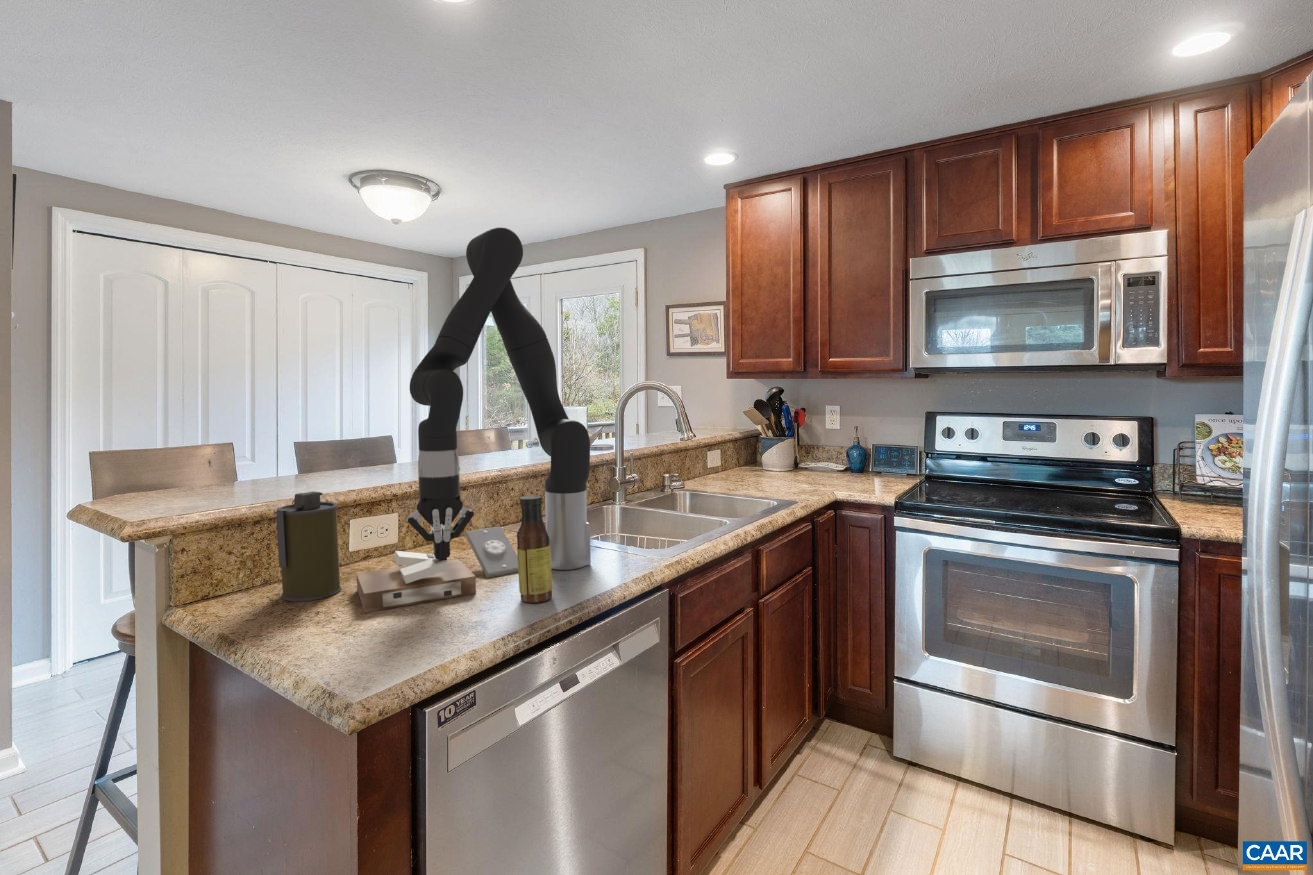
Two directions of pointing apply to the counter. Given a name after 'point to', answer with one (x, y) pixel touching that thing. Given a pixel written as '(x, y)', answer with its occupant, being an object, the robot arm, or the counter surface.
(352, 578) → the counter surface
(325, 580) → the canister
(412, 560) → the rocker
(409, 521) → the robot arm
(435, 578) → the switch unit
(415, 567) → the rocker
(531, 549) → the sauce bottle
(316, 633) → the counter surface
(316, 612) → the counter surface
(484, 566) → the light switch
